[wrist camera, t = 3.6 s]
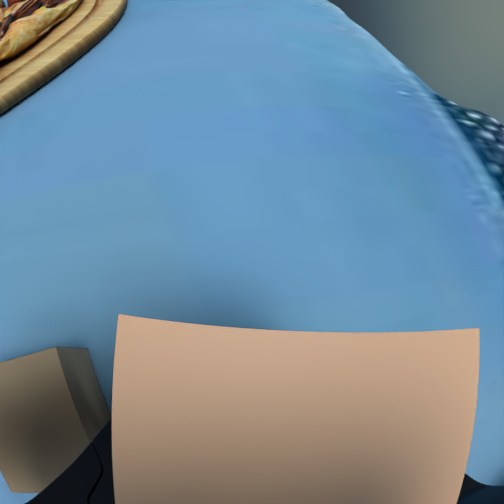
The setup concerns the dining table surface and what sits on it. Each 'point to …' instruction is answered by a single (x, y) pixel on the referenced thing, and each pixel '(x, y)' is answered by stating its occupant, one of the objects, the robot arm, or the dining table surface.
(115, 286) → the dining table surface
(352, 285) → the dining table surface
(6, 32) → the wooden plate with food
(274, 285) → the dining table surface
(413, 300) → the dining table surface
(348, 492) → the peach block
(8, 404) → the walnut block
